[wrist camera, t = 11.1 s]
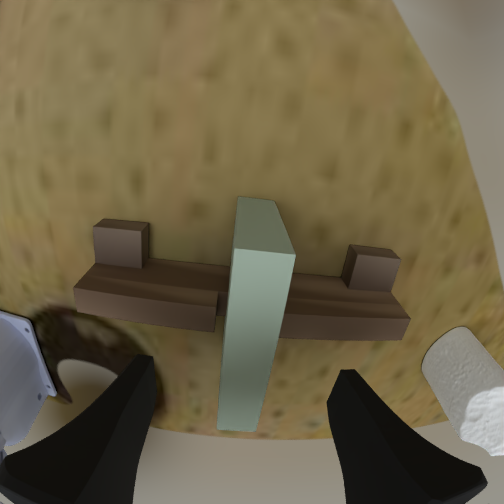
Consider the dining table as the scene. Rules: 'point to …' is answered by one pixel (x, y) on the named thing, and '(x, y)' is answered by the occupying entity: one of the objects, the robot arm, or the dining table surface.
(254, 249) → the slotted plate
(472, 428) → the bottle
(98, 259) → the walnut stand
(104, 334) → the dining table surface
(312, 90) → the dining table surface
